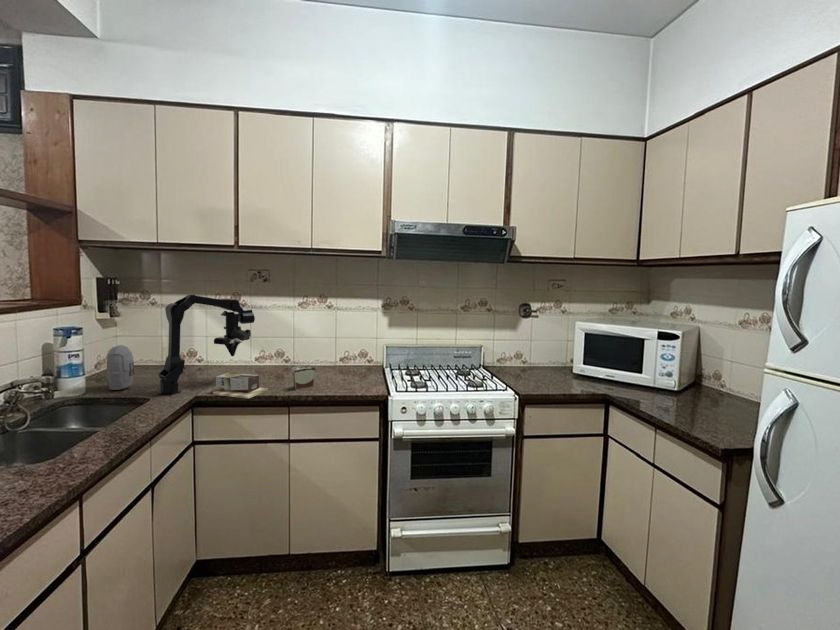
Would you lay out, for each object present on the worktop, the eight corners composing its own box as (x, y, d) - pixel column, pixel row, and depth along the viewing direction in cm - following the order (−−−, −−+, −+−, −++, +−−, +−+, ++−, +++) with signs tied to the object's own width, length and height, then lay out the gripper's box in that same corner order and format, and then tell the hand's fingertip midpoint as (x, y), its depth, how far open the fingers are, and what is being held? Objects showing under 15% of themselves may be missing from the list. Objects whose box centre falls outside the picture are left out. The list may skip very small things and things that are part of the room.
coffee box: (215, 390, 190) (248, 393, 187) (215, 376, 189) (248, 378, 186) (228, 385, 199) (259, 388, 196) (228, 372, 198) (259, 374, 195)
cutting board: (213, 394, 187) (213, 392, 187) (234, 386, 200) (234, 384, 200) (248, 398, 182) (248, 396, 182) (267, 390, 196) (267, 388, 196)
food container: (309, 383, 210) (309, 364, 209) (316, 386, 206) (316, 366, 205) (286, 387, 201) (286, 367, 200) (292, 390, 197) (292, 369, 196)
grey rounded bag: (119, 384, 199) (118, 342, 197) (139, 383, 201) (138, 342, 199) (105, 393, 184) (103, 348, 182) (126, 392, 186) (125, 347, 185)
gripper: (232, 327, 195) (233, 361, 196) (258, 323, 212) (258, 354, 214) (212, 326, 198) (213, 359, 199) (239, 322, 216) (240, 352, 217)
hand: (232, 356), depth 207 cm, fingers closed
